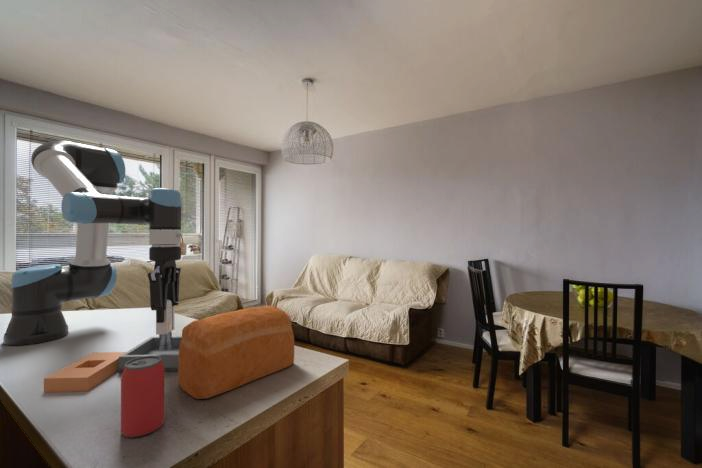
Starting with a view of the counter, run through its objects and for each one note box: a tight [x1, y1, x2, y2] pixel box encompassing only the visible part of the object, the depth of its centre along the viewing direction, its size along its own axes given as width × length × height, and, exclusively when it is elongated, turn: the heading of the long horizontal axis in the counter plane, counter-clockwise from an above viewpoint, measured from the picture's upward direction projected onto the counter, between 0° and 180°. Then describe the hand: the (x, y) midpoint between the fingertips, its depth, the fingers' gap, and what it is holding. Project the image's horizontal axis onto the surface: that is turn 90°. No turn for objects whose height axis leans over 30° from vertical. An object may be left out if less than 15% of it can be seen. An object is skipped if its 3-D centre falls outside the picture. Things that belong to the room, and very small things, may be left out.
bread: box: [177, 305, 295, 400], centre depth 80 cm, size 14×26×16 cm, turn 139°
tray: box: [118, 335, 182, 374], centre depth 88 cm, size 15×15×4 cm
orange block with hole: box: [43, 351, 127, 393], centre depth 78 cm, size 15×9×3 cm, turn 4°
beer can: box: [120, 356, 165, 438], centre depth 58 cm, size 7×7×12 cm
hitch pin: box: [158, 299, 173, 350], centre depth 88 cm, size 3×3×14 cm
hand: (165, 331), depth 88 cm, fingers closed on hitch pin, 3 cm apart
